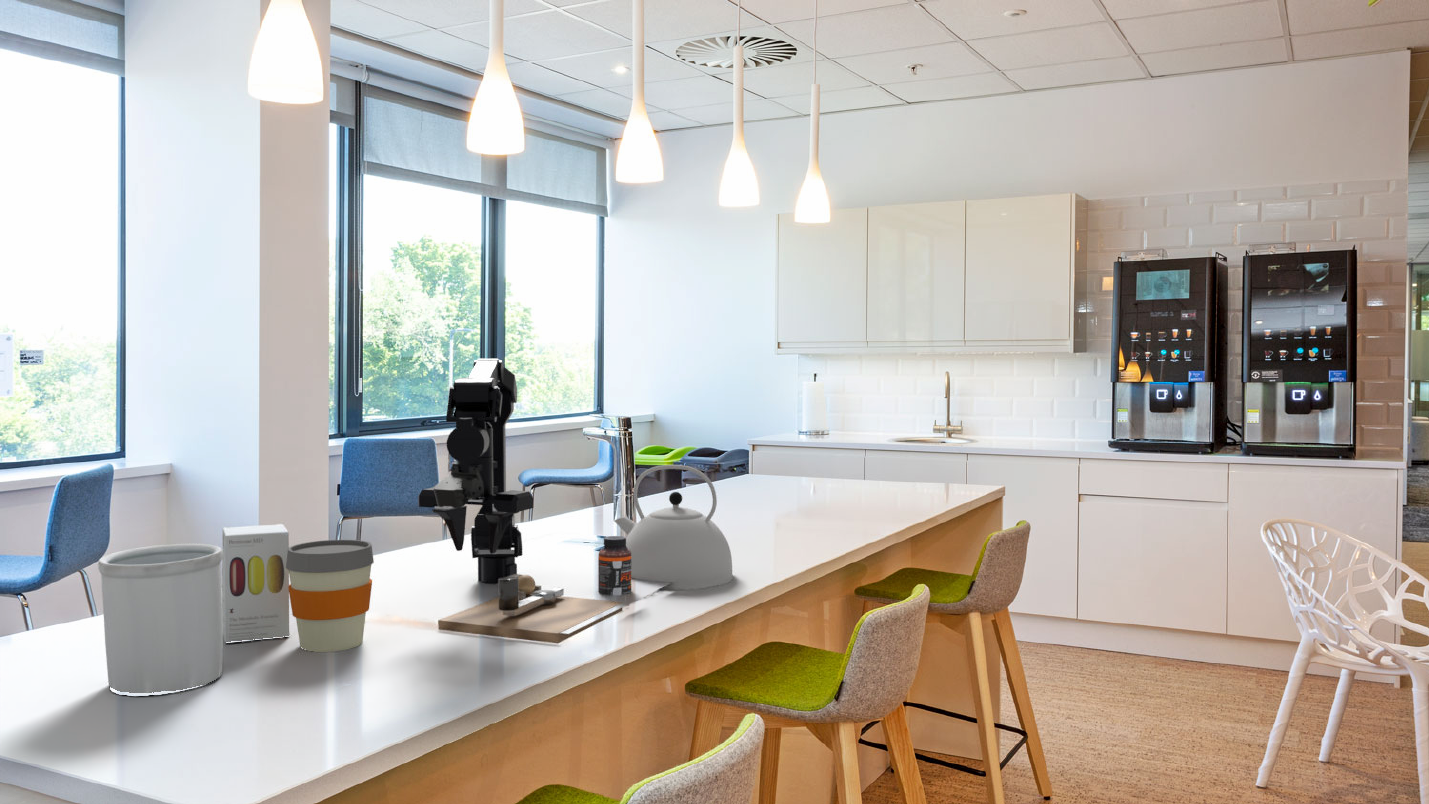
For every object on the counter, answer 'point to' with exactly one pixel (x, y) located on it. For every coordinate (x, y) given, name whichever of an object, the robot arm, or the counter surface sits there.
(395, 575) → the counter surface
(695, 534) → the kettle
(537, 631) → the base
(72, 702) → the counter surface
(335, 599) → the reusable coffee cup
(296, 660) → the counter surface
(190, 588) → the utensil holder
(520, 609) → the lever
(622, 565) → the supplement bottle
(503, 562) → the robot arm
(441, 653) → the counter surface
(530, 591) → the nut
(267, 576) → the supplement box
